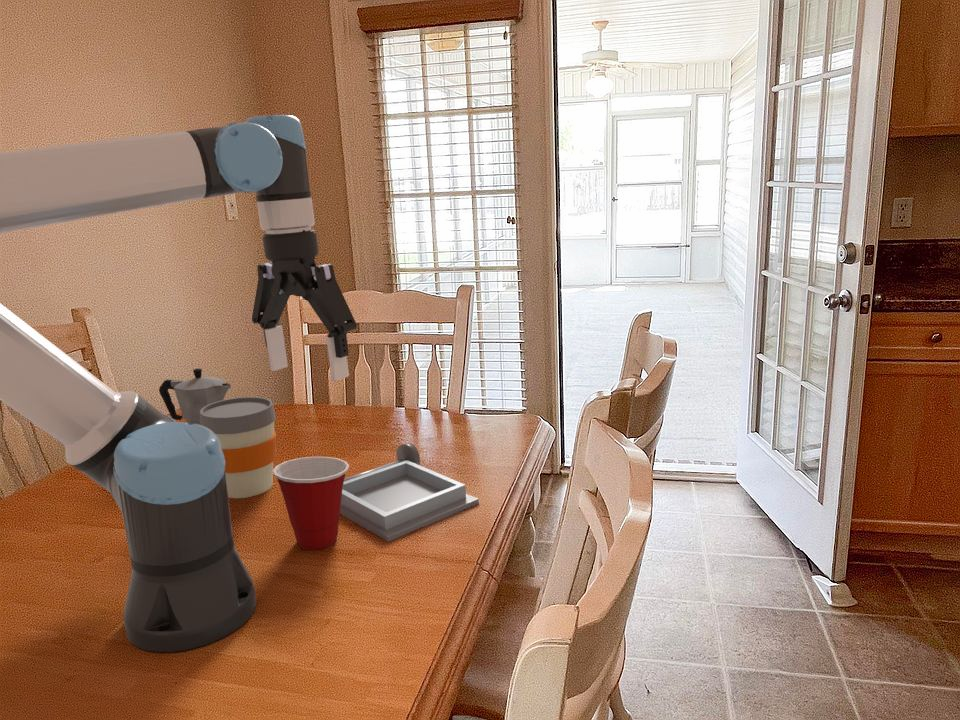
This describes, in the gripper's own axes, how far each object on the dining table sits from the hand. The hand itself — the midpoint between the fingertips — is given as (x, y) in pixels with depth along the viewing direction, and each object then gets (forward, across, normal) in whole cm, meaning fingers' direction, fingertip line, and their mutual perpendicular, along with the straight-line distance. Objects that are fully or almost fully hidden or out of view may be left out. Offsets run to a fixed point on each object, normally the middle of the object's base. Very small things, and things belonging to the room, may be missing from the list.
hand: (309, 373), depth 107 cm
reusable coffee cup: (+24, +22, -1) cm, 33 cm away
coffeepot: (+24, +44, -6) cm, 50 cm away
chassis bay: (+25, -4, -10) cm, 27 cm away
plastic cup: (+24, -4, +6) cm, 25 cm away
